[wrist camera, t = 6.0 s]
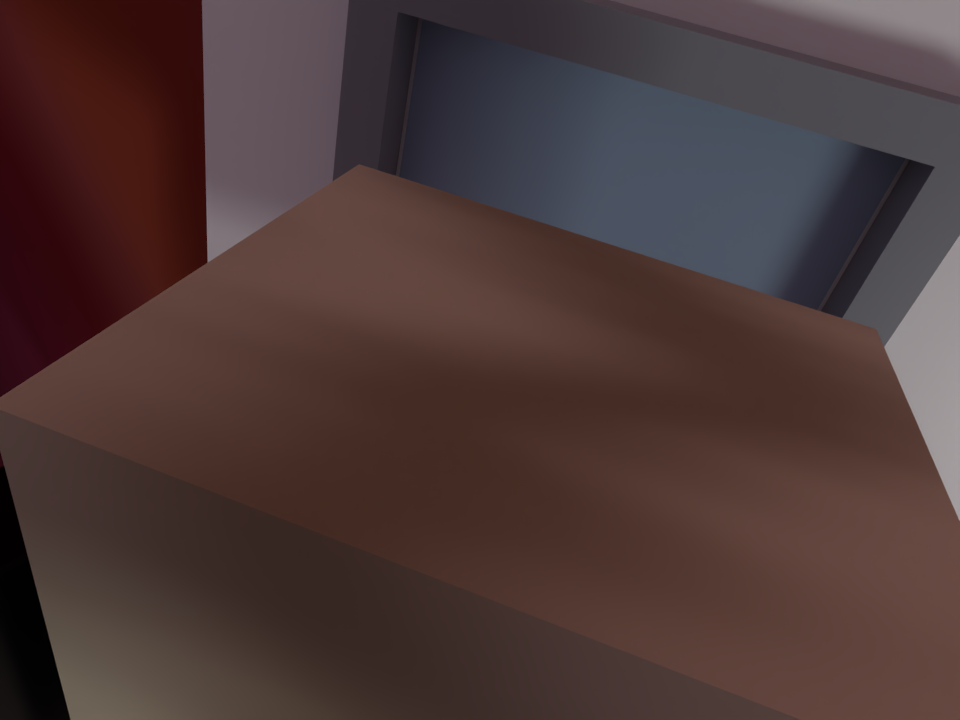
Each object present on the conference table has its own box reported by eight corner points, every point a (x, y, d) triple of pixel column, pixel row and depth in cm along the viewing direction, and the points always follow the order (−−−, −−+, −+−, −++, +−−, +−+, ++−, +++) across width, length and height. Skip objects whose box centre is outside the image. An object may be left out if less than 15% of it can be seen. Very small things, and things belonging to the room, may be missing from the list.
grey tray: (1520, 137, 10) (1789, 206, 7) (992, 620, 17) (1042, 738, 14) (266, -188, 12) (153, -219, 10) (253, 356, 19) (185, 418, 16)
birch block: (875, 329, 7) (1093, 834, 3) (669, 645, 11) (646, 1086, 7) (358, 164, 8) (-12, 404, 4) (320, 510, 11) (100, 835, 7)
